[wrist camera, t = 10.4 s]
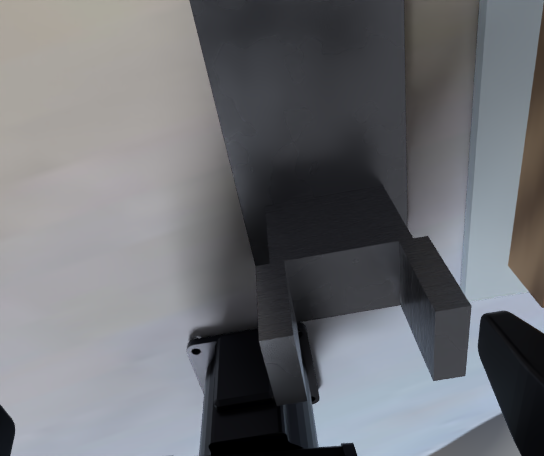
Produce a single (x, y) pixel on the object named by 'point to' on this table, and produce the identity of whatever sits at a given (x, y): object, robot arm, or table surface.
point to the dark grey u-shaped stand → (325, 173)
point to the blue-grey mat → (498, 143)
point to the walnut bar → (531, 191)
